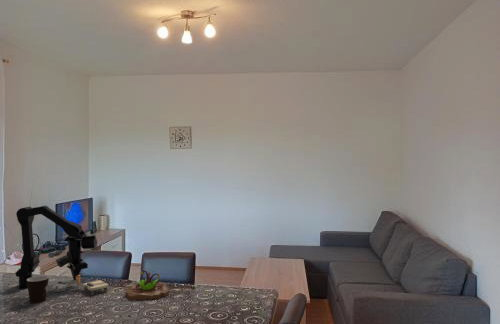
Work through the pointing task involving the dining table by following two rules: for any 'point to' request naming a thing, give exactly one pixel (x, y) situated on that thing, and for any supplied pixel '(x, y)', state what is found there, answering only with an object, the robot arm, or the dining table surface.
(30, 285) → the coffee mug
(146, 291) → the plant
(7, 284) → the dining table surface
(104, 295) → the dining table surface
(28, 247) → the robot arm
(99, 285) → the level stand
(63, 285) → the cam capstan
